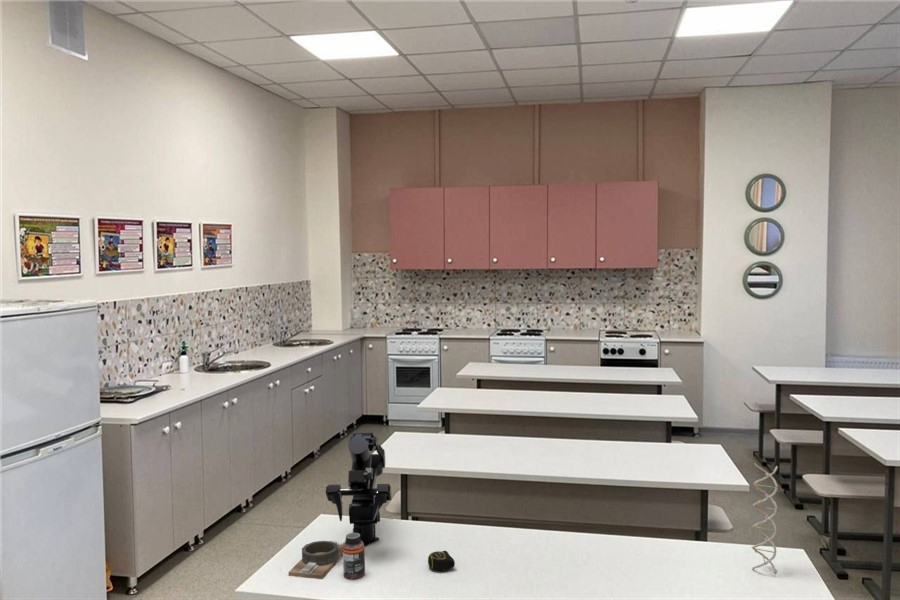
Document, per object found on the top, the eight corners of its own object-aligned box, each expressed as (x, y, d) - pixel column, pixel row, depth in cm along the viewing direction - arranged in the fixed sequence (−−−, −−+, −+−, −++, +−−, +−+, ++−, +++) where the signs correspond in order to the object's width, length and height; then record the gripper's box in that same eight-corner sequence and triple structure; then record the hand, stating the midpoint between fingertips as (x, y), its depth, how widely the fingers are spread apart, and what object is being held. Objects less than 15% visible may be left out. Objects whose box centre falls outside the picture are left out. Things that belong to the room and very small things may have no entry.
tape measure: (455, 571, 196) (455, 558, 196) (432, 575, 194) (431, 561, 194) (448, 561, 203) (448, 548, 202) (425, 564, 201) (425, 551, 200)
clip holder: (318, 545, 214) (318, 533, 214) (349, 548, 212) (349, 535, 211) (288, 575, 195) (288, 561, 194) (322, 578, 192) (321, 564, 192)
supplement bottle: (353, 568, 199) (352, 529, 198) (369, 573, 195) (368, 533, 194) (338, 576, 194) (337, 536, 193) (354, 582, 190) (353, 541, 190)
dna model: (777, 569, 194) (779, 462, 192) (776, 578, 189) (778, 469, 187) (751, 564, 198) (753, 459, 196) (749, 573, 192) (750, 465, 190)
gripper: (325, 457, 205) (319, 508, 195) (390, 456, 205) (387, 507, 194) (331, 475, 213) (325, 525, 203) (392, 474, 213) (390, 524, 203)
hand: (356, 520), depth 201 cm, fingers open, 9 cm apart
